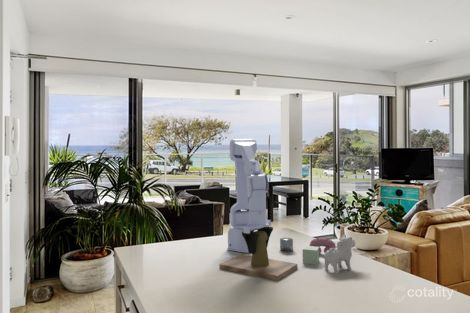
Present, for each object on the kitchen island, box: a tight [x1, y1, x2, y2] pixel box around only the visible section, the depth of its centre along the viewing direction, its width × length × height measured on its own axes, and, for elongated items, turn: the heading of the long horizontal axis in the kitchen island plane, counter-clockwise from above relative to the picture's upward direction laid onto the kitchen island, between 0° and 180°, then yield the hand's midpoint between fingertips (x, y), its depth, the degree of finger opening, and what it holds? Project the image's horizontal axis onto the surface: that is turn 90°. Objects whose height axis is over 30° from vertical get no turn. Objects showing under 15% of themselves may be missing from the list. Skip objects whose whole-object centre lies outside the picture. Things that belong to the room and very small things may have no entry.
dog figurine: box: [323, 234, 356, 274], centre depth 123 cm, size 5×13×11 cm, turn 126°
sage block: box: [302, 245, 320, 266], centre depth 131 cm, size 5×5×5 cm
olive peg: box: [251, 230, 269, 267], centre depth 124 cm, size 6×6×11 cm
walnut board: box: [218, 253, 298, 282], centre depth 125 cm, size 22×14×2 cm, turn 56°
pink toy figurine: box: [308, 237, 337, 254], centre depth 141 cm, size 10×5×7 cm, turn 72°
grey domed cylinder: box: [279, 237, 294, 253], centre depth 147 cm, size 5×5×4 cm
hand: (258, 250), depth 125 cm, fingers open, 7 cm apart
